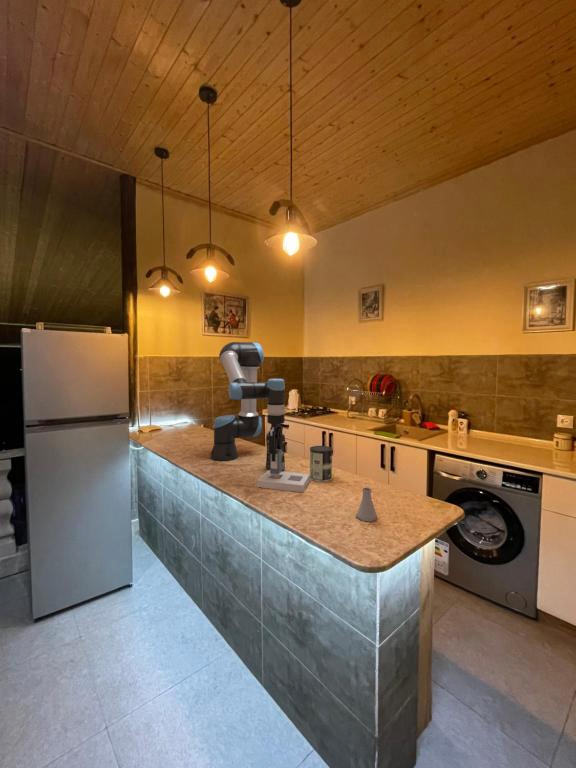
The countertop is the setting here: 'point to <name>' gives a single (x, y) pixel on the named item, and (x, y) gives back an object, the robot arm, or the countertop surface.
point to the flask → (366, 507)
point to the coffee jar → (269, 454)
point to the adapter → (279, 459)
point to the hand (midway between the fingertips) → (275, 466)
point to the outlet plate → (284, 481)
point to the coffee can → (321, 463)
